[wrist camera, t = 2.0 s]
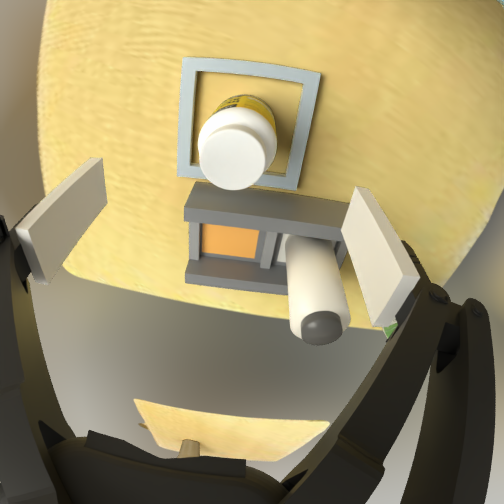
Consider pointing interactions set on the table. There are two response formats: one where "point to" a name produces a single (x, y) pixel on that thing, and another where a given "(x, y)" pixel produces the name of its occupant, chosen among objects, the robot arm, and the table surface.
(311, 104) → the grey square frame
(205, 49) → the table surface
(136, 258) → the table surface
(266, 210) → the grey cubby shelf
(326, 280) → the white thermos bottle
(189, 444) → the flower pot
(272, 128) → the supplement bottle
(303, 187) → the table surface
